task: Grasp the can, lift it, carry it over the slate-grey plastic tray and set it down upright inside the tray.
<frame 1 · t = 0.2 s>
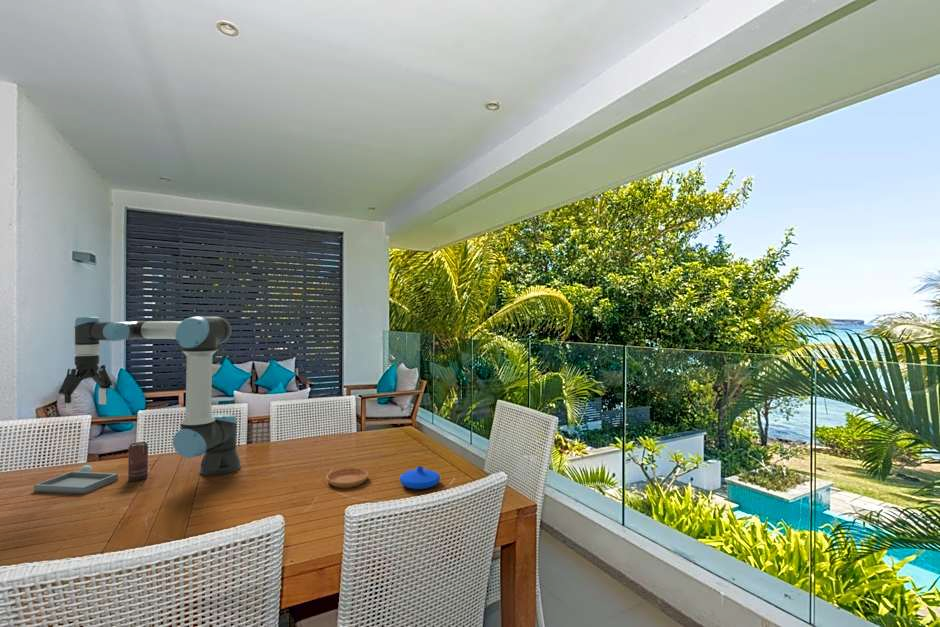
hand: (86, 407, 179), 27 cm above the table, fingers open, 13 cm apart
saucer: (347, 482, 176), on the table
tray: (77, 485, 169), on the table
blue lid: (419, 485, 173), on the table
can: (138, 479, 176), on the table
ball: (86, 474, 181), on the table
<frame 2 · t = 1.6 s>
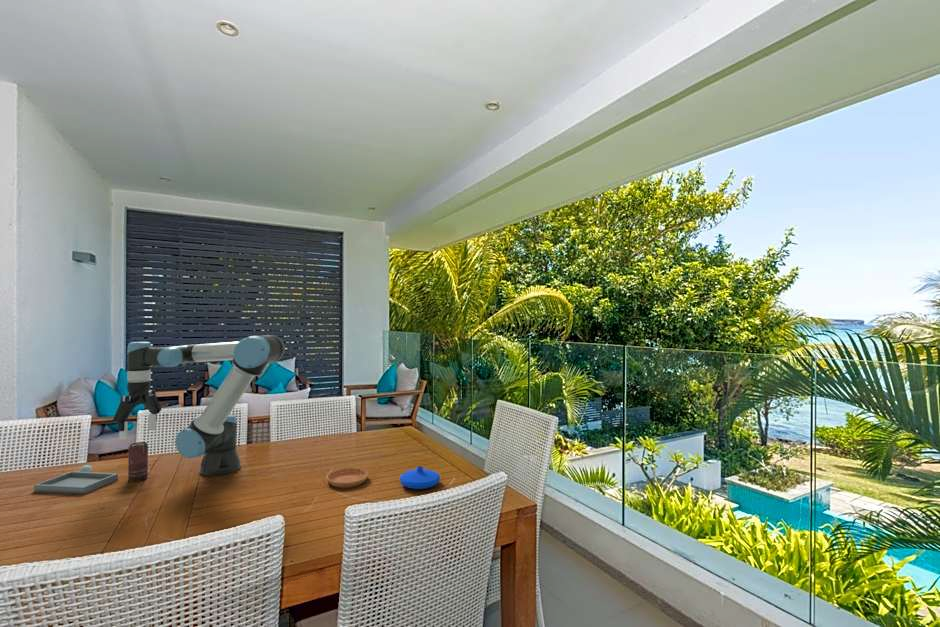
hand: (138, 434, 176), 18 cm above the table, fingers open, 13 cm apart
nothing on the table moved.
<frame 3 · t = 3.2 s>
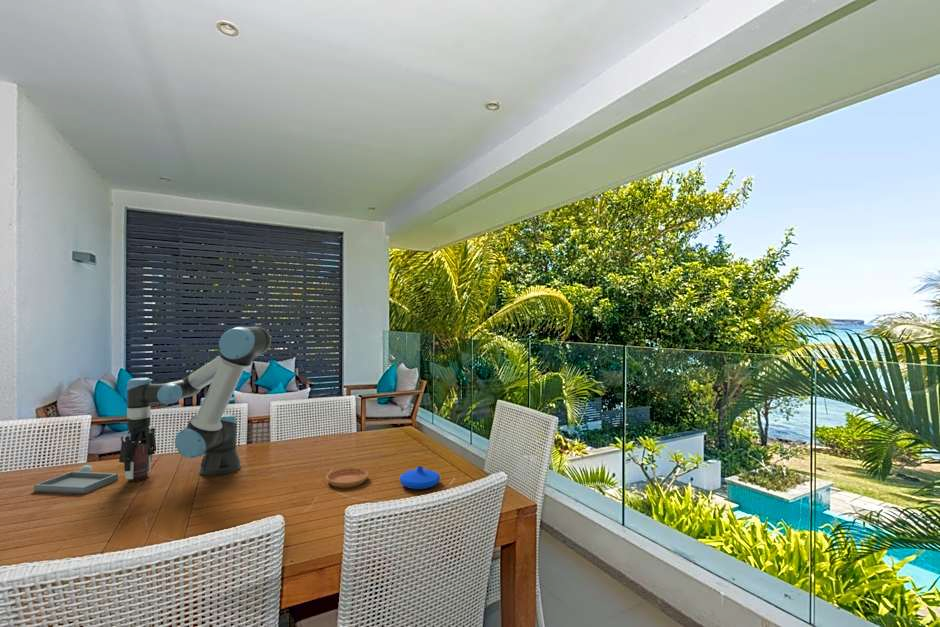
hand: (138, 474, 176), 2 cm above the table, fingers open, 8 cm apart
nothing on the table moved.
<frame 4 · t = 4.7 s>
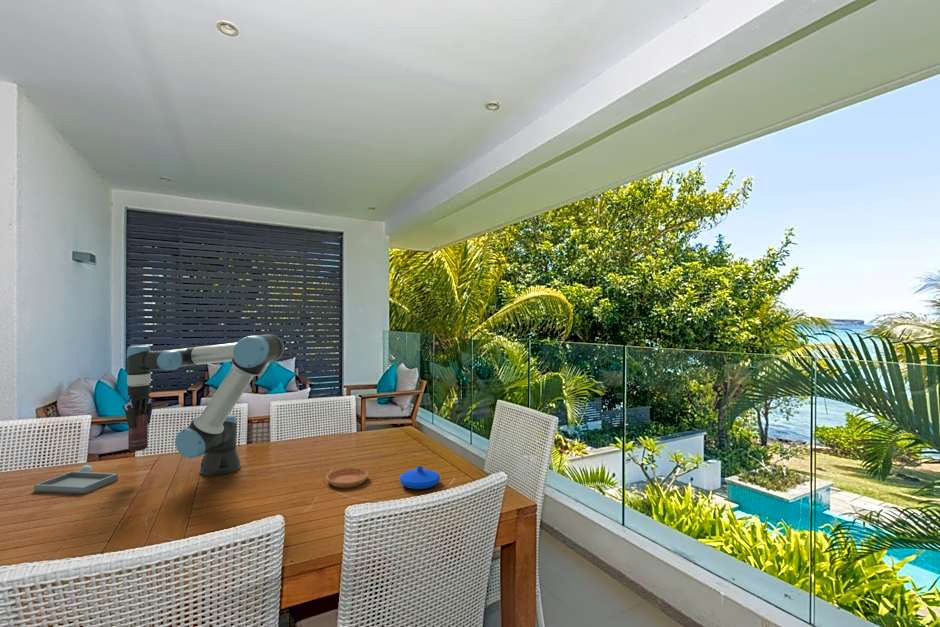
hand: (139, 444, 176), 14 cm above the table, fingers closed
can: (138, 449, 176), point 12 cm above the table, touching hand
everything else where it was.
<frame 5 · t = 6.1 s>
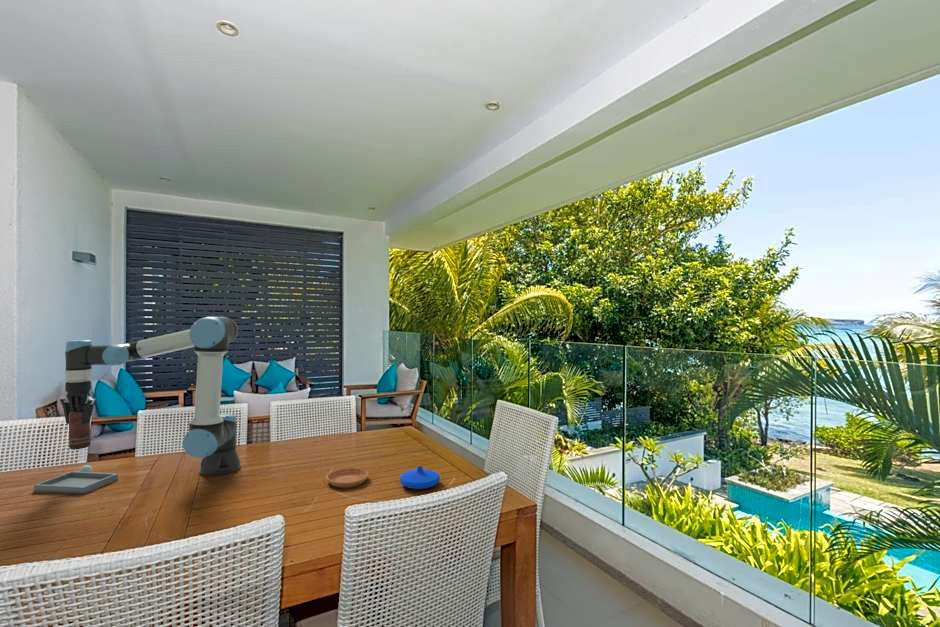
hand: (77, 442, 169), 16 cm above the table, fingers closed
can: (79, 447, 170), point 14 cm above the table, touching hand
everything else where it was.
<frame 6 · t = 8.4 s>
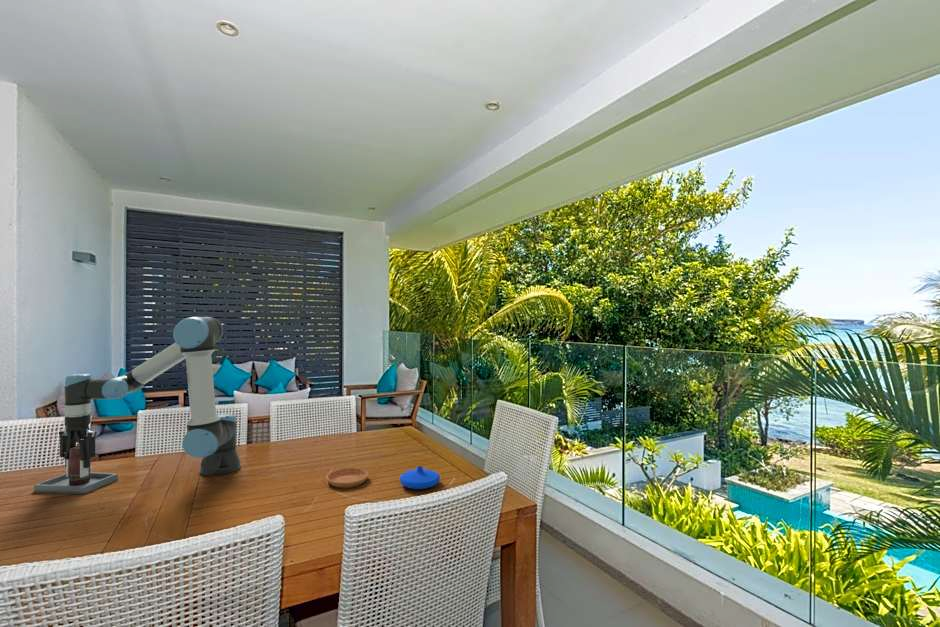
hand: (77, 475, 169), 4 cm above the table, fingers open, 5 cm apart
can: (79, 483, 170), point 1 cm above the table, touching tray
everything else where it was.
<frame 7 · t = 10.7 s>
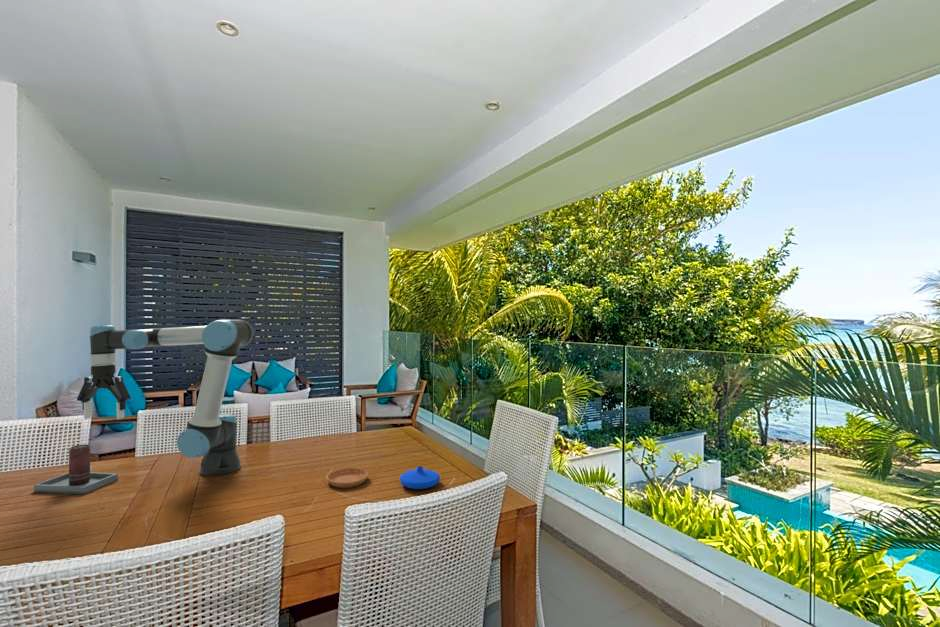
hand: (104, 418, 175), 24 cm above the table, fingers open, 13 cm apart
nothing on the table moved.
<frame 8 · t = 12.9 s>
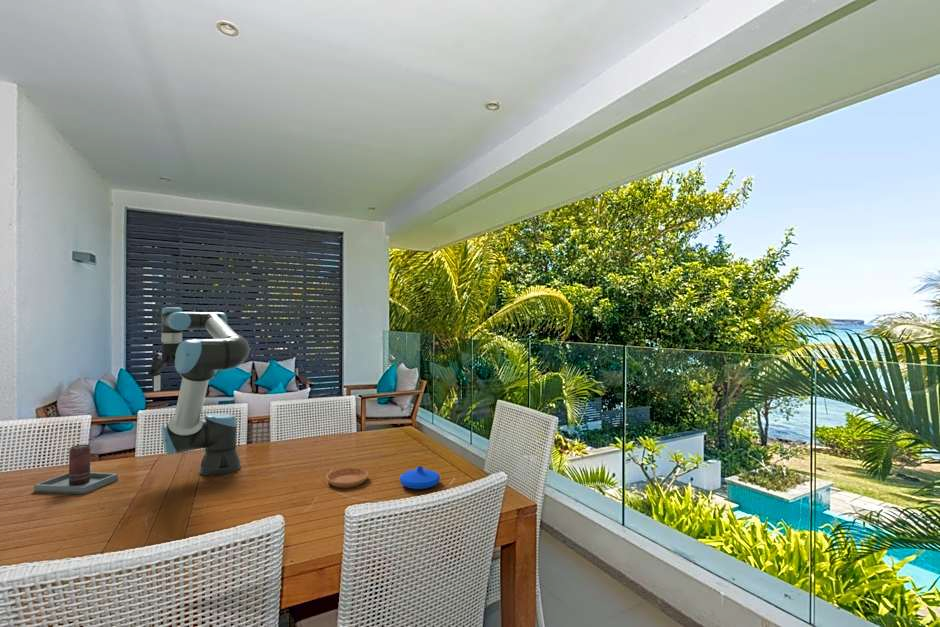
hand: (171, 391, 194), 32 cm above the table, fingers open, 13 cm apart
nothing on the table moved.
at the end: can inside the target area on the tray (0.6 cm from its centre), point 0.6 cm above the tray's base; can tilted 0°; the gripper is holding nothing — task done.
